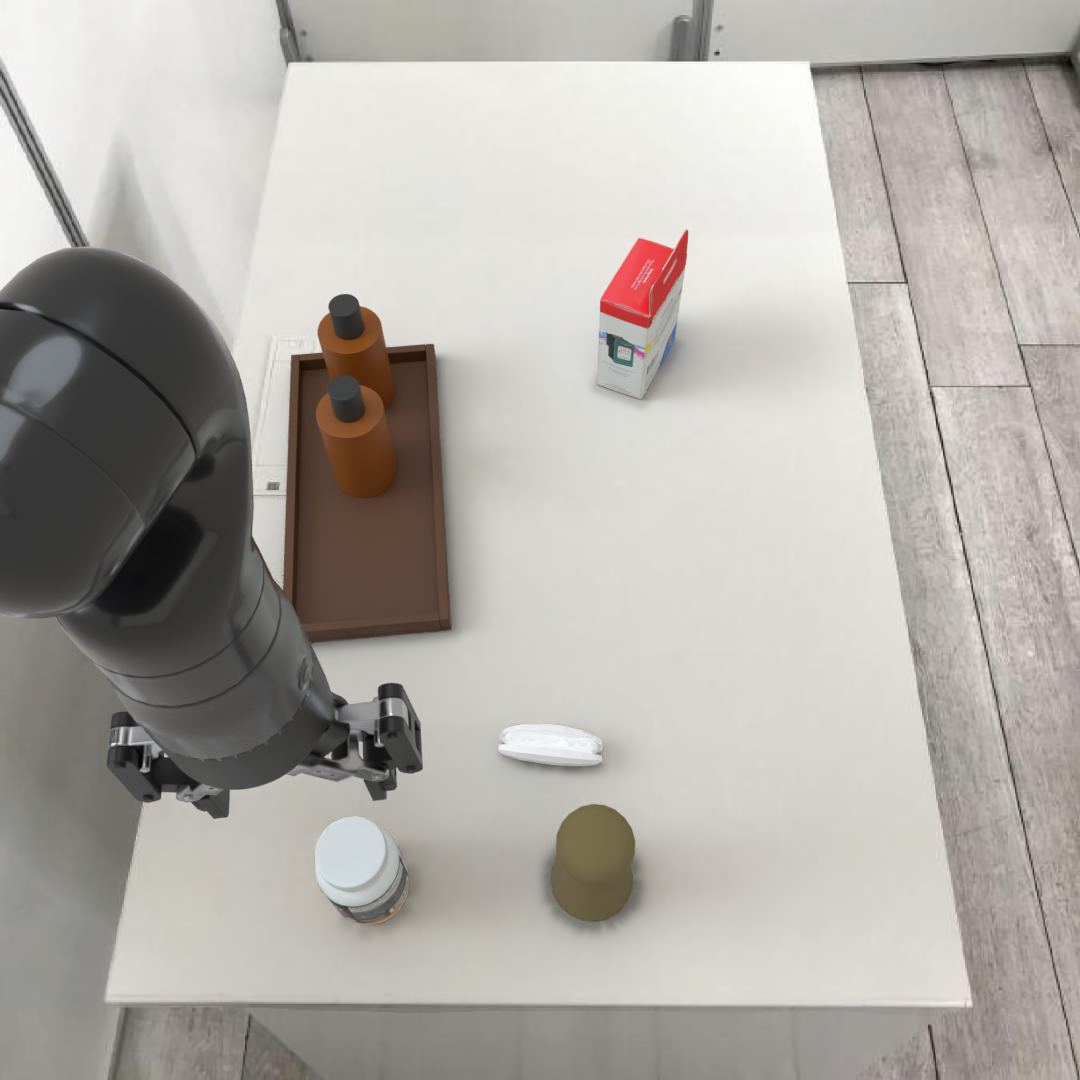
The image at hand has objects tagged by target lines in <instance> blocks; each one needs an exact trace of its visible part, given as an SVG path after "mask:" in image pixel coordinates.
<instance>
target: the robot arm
mask: <svg viewBox="0 0 1080 1080" xmlns="http://www.w3.org/2000/svg"><path fill="white" fill-rule="evenodd" d="M250 425H251V424H250V417H249V410H248V403H247V397H246V393H245V389H244V385H243V380H242V377H241V375H240V371H239V369H238V367H237V364H236V360H235V359H234V357H233V354H232V353H231V351H230V349H229V347H228V344H227V343H226V341H225V339H224V337H223V335H222V333H221V332H220V330H219V329H218V327H217V325H216V324H215V323H214V321H213V320H212V318H211V317H210V316H209V314H208V313H207V312H206V310H205V309H204V308H203V307H202V306H201V305H200V304H199V303H198V302H197V300H196V299H195V298H193V296H192V295H191V294H190V293H189V292H188V291H187V290H185V288H184V287H182V285H180V283H178V282H177V281H175V280H174V279H173V278H172V277H171V276H170V275H168V274H166V273H164V271H161V270H160V269H159V268H157V267H155V266H153V265H151V264H150V263H148V262H146V261H144V260H142V259H140V258H138V257H137V256H133V255H130V254H127V253H124V252H120V251H118V250H113V249H109V248H104V247H98V246H75V247H74V246H73V247H72V246H71V247H65V248H61V249H57V250H55V251H53V252H50V253H47V254H44V255H42V256H40V257H38V258H36V259H35V260H34V261H32V262H31V263H29V264H28V265H27V266H25V267H24V268H22V269H21V270H19V271H18V272H17V273H16V274H15V275H14V276H13V277H12V278H11V279H10V280H9V281H8V282H7V283H6V284H5V285H4V286H3V287H2V288H1V289H0V616H1V617H6V618H12V619H38V620H39V619H41V620H43V619H49V618H55V619H56V621H57V622H58V624H59V626H60V627H61V629H62V630H63V632H64V633H65V635H66V636H67V637H68V638H69V639H70V641H72V643H74V645H75V646H76V647H77V648H78V650H80V651H81V652H82V653H83V655H85V656H86V657H87V659H88V660H89V661H90V662H91V663H92V664H93V665H94V666H95V668H97V670H98V671H99V672H100V673H101V674H102V676H104V677H105V678H106V679H107V681H108V683H109V685H110V687H111V689H112V691H113V693H114V695H115V697H116V698H117V700H118V701H119V703H120V704H121V706H122V707H123V709H124V710H125V711H116V712H114V713H113V714H112V715H111V719H110V728H109V736H108V744H107V745H108V746H107V755H106V757H107V758H106V767H107V769H108V770H110V772H111V773H112V774H113V776H114V777H115V778H116V779H117V780H118V781H119V782H120V783H121V784H122V786H124V787H125V789H126V790H127V791H128V792H129V793H130V794H131V795H132V797H133V798H134V799H135V800H136V801H138V802H143V803H145V804H146V803H148V804H150V803H154V802H158V801H160V800H161V799H162V794H163V793H175V799H176V801H179V802H184V803H190V804H192V806H194V807H195V808H196V810H199V811H201V812H207V814H209V815H210V816H211V817H212V819H214V820H215V819H225V818H228V817H229V815H230V802H231V801H230V800H231V799H230V797H231V791H239V790H249V789H254V788H258V787H261V786H264V785H268V784H270V783H272V782H275V781H276V780H277V781H278V780H279V779H280V778H282V777H284V776H291V777H297V776H299V775H302V774H304V775H307V776H311V777H314V778H319V779H323V780H326V781H331V782H335V783H340V782H342V781H345V780H346V779H347V780H348V779H349V778H352V777H353V778H358V779H361V780H363V783H364V785H365V788H366V789H367V791H368V794H369V795H370V797H371V799H372V801H373V802H375V801H376V802H377V801H385V800H387V798H388V792H391V791H392V792H393V791H396V789H397V788H398V780H397V779H398V775H397V774H398V773H397V770H398V771H399V772H400V773H403V774H408V775H409V774H410V775H411V774H412V775H413V774H416V773H419V772H421V771H422V770H423V769H424V765H423V764H424V762H423V747H422V746H423V744H422V743H423V742H422V725H421V721H420V718H419V717H418V714H417V712H416V710H415V709H414V706H413V705H412V702H411V700H410V698H409V696H408V693H407V692H406V689H405V688H404V686H403V684H401V683H399V682H398V683H397V682H386V683H383V684H381V685H378V687H377V696H375V697H373V698H372V700H371V701H366V702H365V701H364V702H357V703H349V702H348V701H347V700H346V699H345V698H344V697H343V696H341V695H339V694H337V693H334V692H333V691H332V689H331V687H330V683H329V681H328V678H327V676H326V674H325V671H324V669H323V667H322V664H321V662H320V660H319V658H318V656H317V654H316V652H315V650H314V648H313V647H314V646H313V645H312V642H310V641H309V639H308V637H307V635H306V632H305V630H304V628H303V626H302V624H301V622H300V620H299V617H298V615H297V613H296V611H295V609H294V607H293V605H292V603H291V602H290V600H289V598H288V597H287V596H286V594H285V593H284V591H283V588H282V587H281V586H280V585H279V584H278V582H276V580H275V579H274V577H273V575H272V573H271V571H270V569H269V567H268V564H267V562H266V560H265V559H264V558H265V557H264V556H263V554H262V552H261V550H260V548H259V546H258V544H257V543H256V541H255V539H254V536H253V526H254V512H255V511H254V510H255V509H254V508H255V499H254V481H253V480H254V478H253V456H252V453H253V452H252V437H251V434H252V433H251V426H250ZM360 743H362V756H361V755H360ZM329 754H330V756H331V758H329V757H327V756H328V755H329ZM165 755H166V756H165Z"/></svg>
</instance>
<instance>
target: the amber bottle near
mask: <svg viewBox="0 0 1080 1080" xmlns="http://www.w3.org/2000/svg"><path fill="white" fill-rule="evenodd" d="M327 391H328V393H327V394H326V395H325V396H324V397H323V398H322V399H321V400H320V402H319V404H318V406H317V410H316V419H317V422H318V426H319V429H320V432H321V435H322V438H323V441H324V444H325V448H326V451H327V454H328V457H329V460H330V463H331V466H332V470H333V473H334V476H335V479H336V482H337V484H338V486H339V487H340V488H341V490H343V491H344V492H345V493H347V494H348V495H351V496H353V497H358V498H369V497H374V496H377V495H379V494H381V493H383V492H385V491H386V490H387V489H388V488H389V487H390V486H391V485H392V484H393V482H394V481H395V478H396V476H397V464H396V459H395V455H394V451H393V446H392V442H391V437H390V433H389V428H388V424H387V419H386V415H385V411H384V406H383V402H382V400H381V398H380V396H379V395H378V394H377V393H376V392H375V391H373V390H372V389H370V388H368V387H366V386H362V385H359V382H358V381H357V380H356V379H355V378H354V377H352V376H347V375H343V376H338V377H336V378H334V379H333V380H332V381H331V382H330V383H329V385H328V389H327Z"/></svg>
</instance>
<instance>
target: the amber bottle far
mask: <svg viewBox="0 0 1080 1080" xmlns="http://www.w3.org/2000/svg"><path fill="white" fill-rule="evenodd" d="M317 338H318V341H319V346H320V348H321V353H323V356H324V360H325V363H326V367H327V370H328V374H329V377H330V381H332V380H333V379H334V378H336V377H338V376H343V375H347V376H352V377H354V378H355V379H356V380H357V381H358V382H359V385H362V386H366V387H368V388H370V389H372V390H373V391H375V392H376V393H377V394H378V395H379V396H380V398H381V400H382V402H383V406H384V410H386V409H387V408H388V407H389V406H390V404H391V403H392V401H393V399H394V396H395V388H394V383H393V378H392V373H391V368H390V363H389V359H388V354H387V349H386V347H387V344H386V340H385V334H384V330H383V325H382V321H381V319H380V317H379V316H378V315H377V313H376V312H375V311H373V310H371V309H369V308H367V307H365V306H361V305H360V302H359V299H358V298H357V297H356V296H354V295H353V294H349V293H341V294H337V295H336V296H334V297H332V298H331V299H330V301H329V302H328V313H327V314H326V315H324V316H323V317H322V318H321V320H320V322H319V323H318V327H317Z"/></svg>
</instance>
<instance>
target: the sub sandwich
mask: <svg viewBox="0 0 1080 1080" xmlns="http://www.w3.org/2000/svg"><path fill="white" fill-rule="evenodd" d="M499 738H500V741H501V742H502V743H499V744H498V745H497V751H498V753H500V754H501V755H503V756H506V757H509V758H512V759H515V760H519V761H523V762H524V761H525V762H531V763H535V764H542V765H549V766H560V767H590V766H597V765H598V764H601V763H602V761H603V756H602V755H600V754H598V753H601V752H602V750H603V747H604V745H603V744H604V743H603V741H602V739H601V738H599V737H598V736H596V735H594V734H593V733H590V732H588V731H586V730H584V729H579V728H575V727H572V726H568V725H565V724H553V723H544V722H543V723H520V724H516V725H515V724H514V725H511V726H507V727H505V728H504V729H503V730H502V731H501V732H500V735H499Z"/></svg>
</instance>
